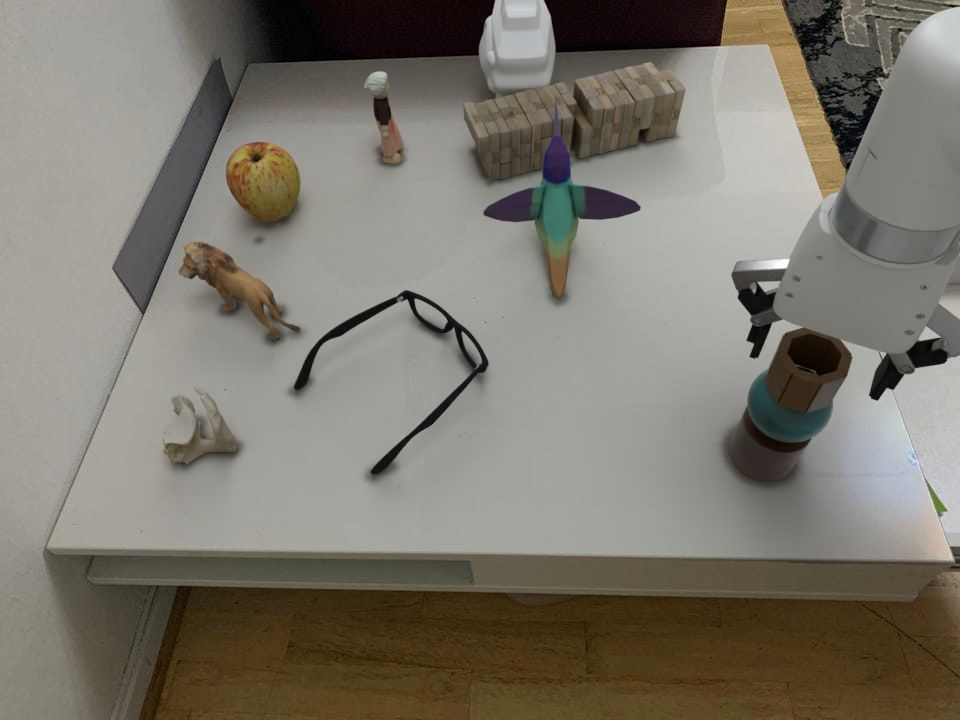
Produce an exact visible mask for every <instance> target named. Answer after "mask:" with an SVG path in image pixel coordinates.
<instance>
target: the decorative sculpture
mask: <svg viewBox="0 0 960 720" xmlns="http://www.w3.org/2000/svg"><path fill="white" fill-rule="evenodd" d="M571 169H572V168H571V156H570V157H569V153H568V151H567V149H566V147H565V145H564V143H563V141H562V139H561V138H560V136H559V125H558V111H557V102H556V98H555V117H554V137H553V139H552V141H551V143H550V145H549V147H548V149H547V151H546V153H545V156H544V164H543V168H542V176H541V177H542V178H541V181H540V183H539V185H537V186H532V187H528V188H524V189H522V190H519V191H516V192H513V193H511V194H509V195H507V196H504V197H502V198H500V199H498V200H496V201H494V202H493V203H491V204H489V205H488V206H486V208H485V209H484V210H483V212H482V213H483V217H487V218H490V219H493V220H496V221H500V222H508V223H510V222H511V223H523V222H532V221H534V226H535V231H536V234H537V237H538V240H539V242H540V244H541V245H542V250H543V255H544V259H545V262H546V263H545V264H546V267H547V271H548V277H549V281H550V285H551V289H552V292H553V297H554V298H555V300H557V301H560V300H562V299H563V298H564V295H565V289H566V283H567V278H568V273H569V265H570V260H571V251H572V250H571V249H572V245H573V243H574V240H575V239H576V237H577V232H578V227H579V222H580V221H579V219H580V220H593V221H594V220H596V221H597V220H598V221H601V220H610V219H619V218H621V217H625V216H628V215H632V214H634V213H638V212H640V211H641V208H642V206H641V205H640V204H639V203H638V202H637V201H636V200H633V199H631V198H629V197H626V196H625V195H622V194H619V193H616V192H612V191H611V190H607V189H604V188H599V187H595V186H590V185H584V184H575V183H573V180H572V174H571V172H572V171H571Z"/></svg>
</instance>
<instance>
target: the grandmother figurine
mask: <svg viewBox="0 0 960 720" xmlns="http://www.w3.org/2000/svg"><path fill="white" fill-rule="evenodd" d="M388 77H389V76H388V74H387V73H386V72H385V71H374V72H372V73H370V74H369V76H368V77H367V78H366V80H365V82H364V85H363V88H364V90H366V91H369V93H370V94H371V95H372V96H373V104H372V105H373V106H372V108H373V115H374V119H375V122H376V126H377V129H378V131H379V133H380V138H381V147H380V153H382V154H383V158H382V162H383V163H384V164H392V165H397V164H400V163H402V161H403V156H402V155H401V153H399V151H400V150H402V149H403V147H404V142H403V138H402V134H401V132H400V129H399V127H398V125H397V122H396V119H395V117H394V115H393V114H392V111H391V109H392V108H391V106H390V102H389V97H388V96H389V95H390V92H391V91H390V90H391V88H390V84H389V83H388Z"/></svg>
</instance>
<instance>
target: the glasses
mask: <svg viewBox="0 0 960 720" xmlns="http://www.w3.org/2000/svg"><path fill="white" fill-rule="evenodd" d="M416 300H417V301H421V302H424V303H425V304H427V305H429V306H431V307H432V308H434V309H435V310H437V311H438V312H439V313H440V314H442V315H443V317H445V319H446V321H447V322H446V323H445V325H444V328H441V327H439V326H436V325H435V324H433V323H431V322H430V321H428V320H427V319H425V318H424V317H423V316H421V314H420V313H419V312H418V310H417V306H416ZM405 301H407V302H408V305H409V307H410V310H411V312H412V314H413V315H414V317H415V318H416V319H417V320H418V321H419V322H420V323H422V324H423V325H424V326H425V327H427V328H428V329H431V331H434V332H436V333H438V334H442V335H445V334H448V333H450V332H451V331H453V330H454V334H455V338H456V342H457V343H458V347H459V349H460V351H461V353H462V355H463V356H464V358H465V359H466V361H467V362H468V364H469V366H471V367H472V369H474V370H473V371H472V372H471V373H470V374H469V375H468V376H467V378H465V379H464V380H463V381H462V382H461V383H460V384H459V385H458V386H457V387H456V388H455V389H454V390H453V391H452V392H451V393H450V394H448V396H447V397H446V398H445V399H443V400H442V402H441V403H440V404H439V405H437V407H436V408H435V409H433V410H432V412H431V413H430V414H428V415H427V417H425V418H424V420H422V421H421V422H420V423H419V424H418V425H417V426H416V427H415V428H414V429H413V430H412V431H411V432H409V433H408V434H407V435H406V436H405V437H403V438H402V439H401V440H400V441H399V442H398V443H397V444H395V445H394V446H393V447H392V448H391V449H390V450H389V451H388V452H387V453H386V454H385V455H384V456H383V457H382V458H381V459H379V460H378V462H376V463H375V465H374V466H373V467H372V468H371V469H370V474H371V475H372V476H374V475H375V476H376V475H377V474H379V473H381V472H383V471H385V470H386V469H387V468H388V467H389V466H390V465H391V464H392V463H393V462H394V461H395V459H396V458H397V457H398V456H399V454H401V452H402V450H404V448H405V447H406V446H407V444H408V443H409V442H410V441H411V440H412V439H413V438H414V437H416V436H417V435H418V434H420V433H422V431H424V430H426V429H428V428H429V427H431V426H432V425H434V424H435V423H436V422H437V421H438V419H439V418H440V417H441V416H442V415H443V414H444V413H445V412H446V411H447V410H448V409H449V408H450V407H451V406H452V404H453V403H454V402H455V400H457V398H458V397H459V396H460V395H461V394H462V393H463V392H464V391H465V389H467V387H468V386H469V385H470V384H471V383H472V382H473V380H474V379H475V378H476V377H477V376H478V374H484V373H485V372H487V369H488V367H489V365H490V364H489V363H490V362H489V360H488V357H487V355H486V353H485V351H484V350H483V347H482V346H481V344H480V343H479V341H478V340H477V339H476V337H475V336H474V335H473V333H472V332H470V331H469V329H467V328H466V327H465V326H464V325H462V324H461V323H459V322H458V321H457V319H455V318H454V317H453V316H452V315H451V314H450V313H448V311H447V310H445V309H444V308H443V307H442V306H440V304H438V303H437V302H436V301H433V300H432V299H430V298H428V297H426V296H424V295H422V294H420V293H416V292H414V291H411V290H407V289H405V290H403V291H402V292H400V293H399V294H397V296H394V297H391V298H388V299H386V300H384V301H382V302H380V303H378V304H376V305H373V306H372V307H370V308H368V309H366V310H363V311H362V312H359V313H357V314H355V315H353V316H352V317H350V318H347V319H346V320H344V321H343V322H342V323H340V324H338V325H337V326H335V327H334V328H332V329H331V330H329V331H328V332H326V333H325V334H324V335H323V336H322V337H321V338H320V339H318V341H317V342H316V343H315V344H314V345H313V346H312V348H311V349H310V351H309V352H308V354H307V355H306V357H305V359H304V361H303V364H302V366H301V369H300V370H299V374H298V376H297V378H296V380H295V382H294V384H293V389H294V390H295V391H299V390H302V389H303V388H304V387H305V386H306V385H307V383H308V381H309V379H310V375H311V371H312V369H313V365H314V363H315V359H316V357H317V354H318V353H319V350H320V348H321V347H322V346H323V345H324V344H325V343H326V342H328V341H330V340H333V339H336V338H339V337H343V336H344V335H345V334H347V333H348V332H349V331H351V330H352V329H354V328H356V327H357V326H359V325H361V324H363V323H364V322H367V321H368V320H370V319H371V318H373V317H375V316H376V315H378V314H380V313H382V312H384V311H385V310H387V309H389V308H391V307H392V306H394V305H396V304H398V303H399V302H400V303H403V302H405ZM463 333H464V335H465V336H466V337H468V339H469V340H470V341H471V343H472V344H473V345H474V347H475V349H476V350H477V352H478V354H479V356H480V360H481V362H480V363H479V365H478V364H477V363H476V361H474V359H473V358H472V356H471V355H470V354H469V352H468V350H467V348H466V346H465V342H464V339H463Z"/></svg>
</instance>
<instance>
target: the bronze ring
mask: <svg viewBox="0 0 960 720" xmlns="http://www.w3.org/2000/svg"><path fill="white" fill-rule="evenodd" d="M852 361H853V356H852V352H851V351H850V350H849V349H848V347H847V346H846V345H845V344H844V342H843V340H840V339H837V338H834V337H831V336H828V335H825V334H822V333H819V332H816V331H813V330H810V329H807V328H804V327H799V328H796V329H793V330H790V331H786V332H784V334H783V335H782V336H781V338H780V341H779V342H778V345H777V348H776V350H775V352H774V354H773V356H772V359H771V361H770V364H769V366H768V368H767V369H768V371H767V374H766V377H765V379H764V382H765V383H764V385H765V386H766V388H767V389H768V391H769V392H770V394H771V395H772V397H773V398H774V400H775V401H776V402H777V403H778V402H779V405H782V406H784V407H787V408H790V409H793V410H796V411H799V412H801V413H804V411H805V412H806V413H809V412H812V411H815V410H818V409H821V408H824V407H827V406H828V405H830V403H831V402H832V400H833V401H834V399H835V397H836V395H837V394H838V391H840V388H841V387H842V385H843V383H844V382H845V380H846V379H847V377H848V374H849V372H850V368H851V364H852ZM795 364H796V365H799V366H802V367H805V368H808V369H811V370H814V371H815V372H816V374H817V375H815V374H812V373H809V372H806V371H803V370H800V369H798V368H797V367H796V365H795Z"/></svg>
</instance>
